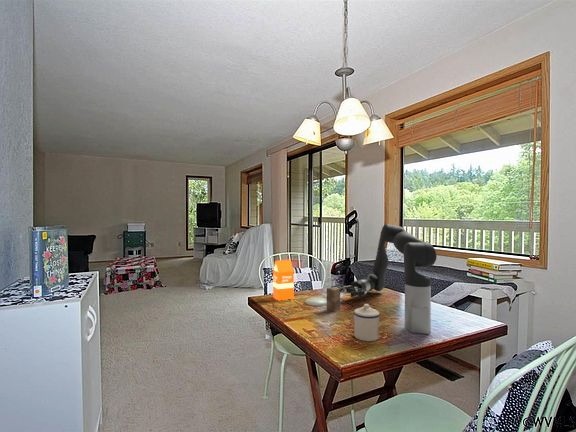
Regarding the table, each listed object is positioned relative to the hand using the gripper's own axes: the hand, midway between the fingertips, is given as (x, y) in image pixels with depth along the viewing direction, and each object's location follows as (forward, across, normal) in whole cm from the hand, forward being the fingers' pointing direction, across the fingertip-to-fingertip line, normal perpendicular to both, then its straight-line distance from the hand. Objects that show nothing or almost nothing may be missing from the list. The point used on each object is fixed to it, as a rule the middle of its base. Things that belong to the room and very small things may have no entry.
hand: (343, 293), depth 151 cm
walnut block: (+9, 0, +6) cm, 10 cm away
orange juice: (+9, -31, +6) cm, 33 cm away
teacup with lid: (+26, +25, +6) cm, 37 cm away
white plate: (+4, -13, +6) cm, 15 cm away
